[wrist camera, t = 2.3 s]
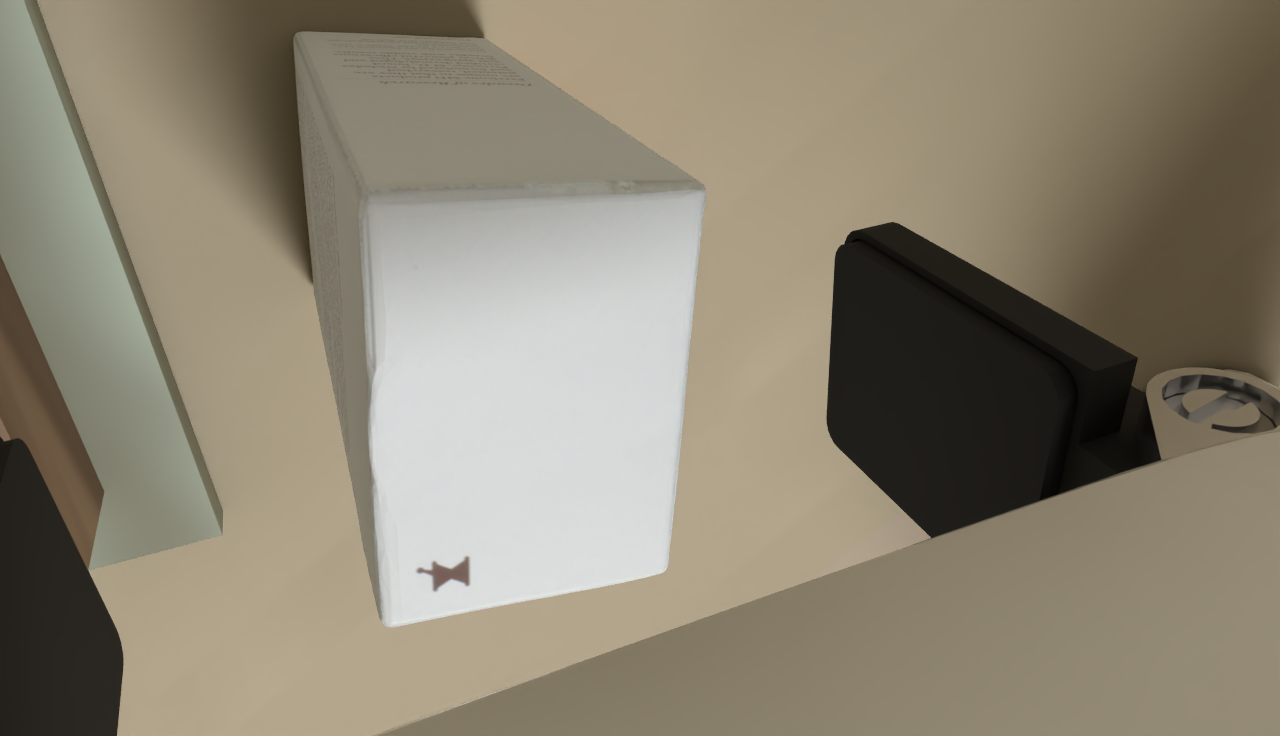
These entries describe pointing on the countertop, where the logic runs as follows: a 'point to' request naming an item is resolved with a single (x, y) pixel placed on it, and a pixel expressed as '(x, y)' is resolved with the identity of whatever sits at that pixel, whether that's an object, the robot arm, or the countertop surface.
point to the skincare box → (494, 320)
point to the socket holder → (83, 330)
